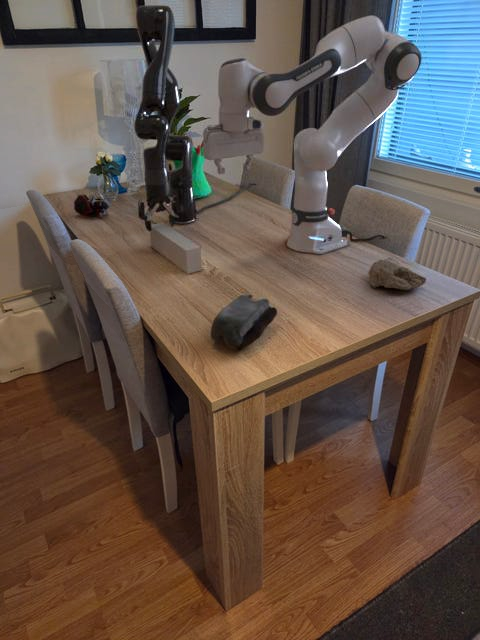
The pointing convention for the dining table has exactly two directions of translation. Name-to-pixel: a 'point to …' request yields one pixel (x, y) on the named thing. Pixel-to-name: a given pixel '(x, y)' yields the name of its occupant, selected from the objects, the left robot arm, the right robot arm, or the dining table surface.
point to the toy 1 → (90, 206)
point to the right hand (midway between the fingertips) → (234, 171)
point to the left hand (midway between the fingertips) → (160, 228)
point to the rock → (242, 322)
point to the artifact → (393, 275)
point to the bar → (176, 248)
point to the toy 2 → (197, 172)
